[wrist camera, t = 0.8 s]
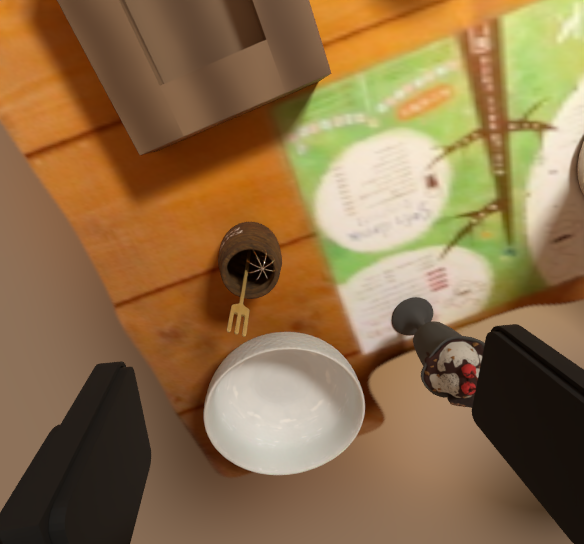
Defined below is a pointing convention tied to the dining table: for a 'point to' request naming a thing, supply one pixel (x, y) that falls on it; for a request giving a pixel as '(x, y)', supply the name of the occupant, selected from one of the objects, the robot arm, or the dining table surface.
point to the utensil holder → (248, 266)
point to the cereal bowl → (283, 404)
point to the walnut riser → (195, 59)
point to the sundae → (441, 352)
